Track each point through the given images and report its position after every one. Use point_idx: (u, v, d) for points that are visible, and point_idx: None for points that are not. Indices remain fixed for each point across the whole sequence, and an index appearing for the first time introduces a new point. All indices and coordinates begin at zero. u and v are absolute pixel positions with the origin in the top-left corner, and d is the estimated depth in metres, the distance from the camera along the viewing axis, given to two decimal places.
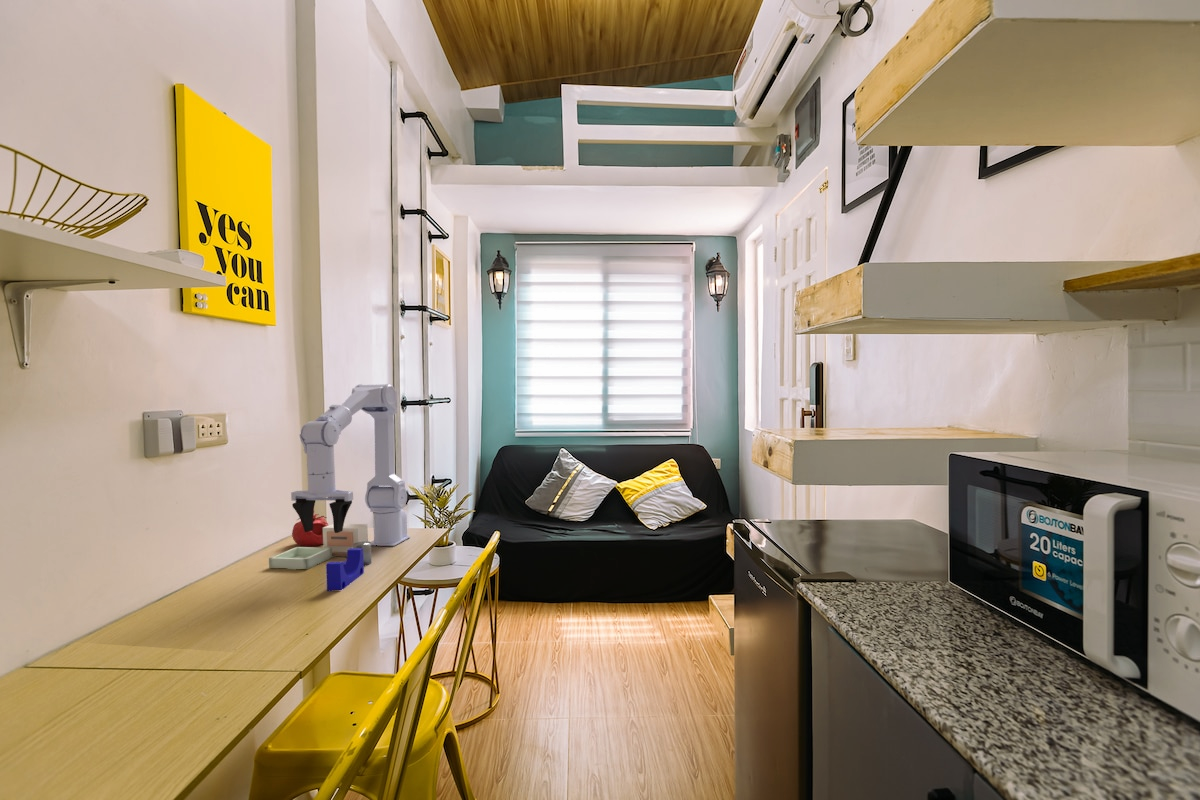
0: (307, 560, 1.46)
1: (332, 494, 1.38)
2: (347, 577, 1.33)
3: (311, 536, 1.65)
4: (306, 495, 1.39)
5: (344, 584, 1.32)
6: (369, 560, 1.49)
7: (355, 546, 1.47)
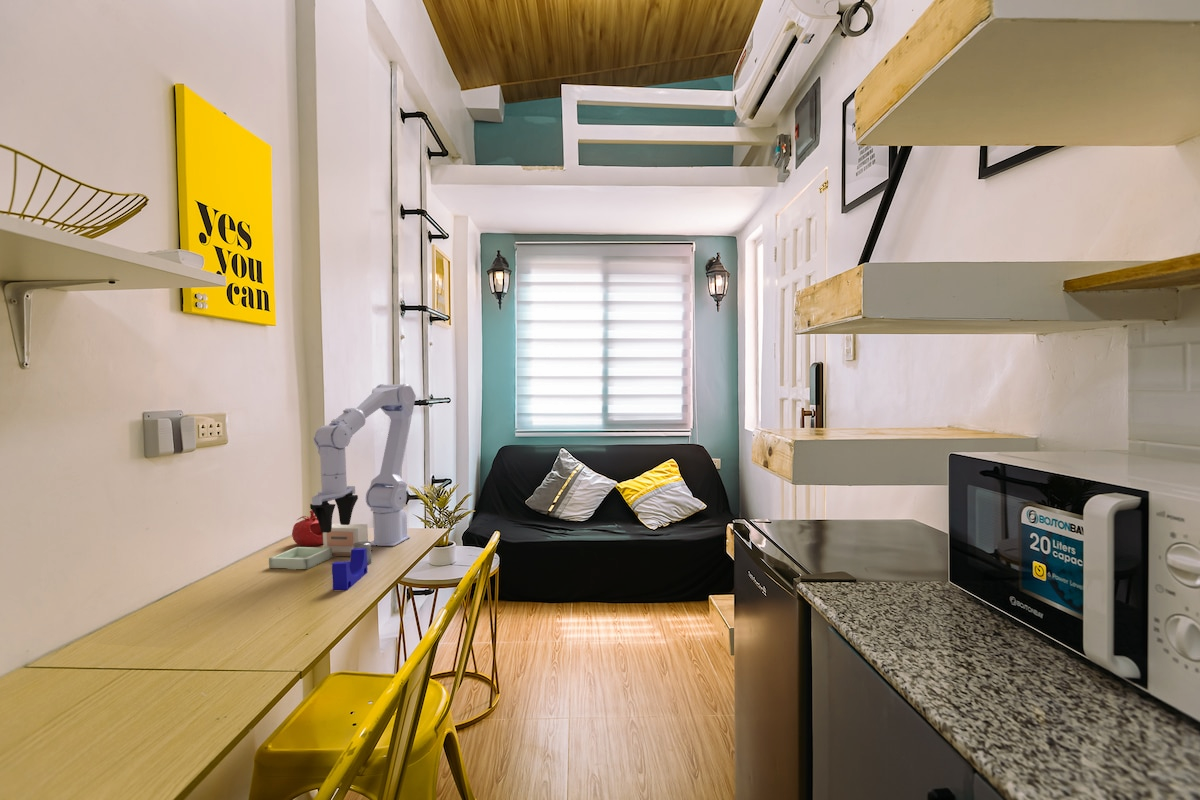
0: (307, 560, 1.46)
1: None
2: (352, 577, 1.33)
3: (311, 536, 1.65)
4: None
5: (350, 584, 1.32)
6: (369, 560, 1.49)
7: (355, 546, 1.47)
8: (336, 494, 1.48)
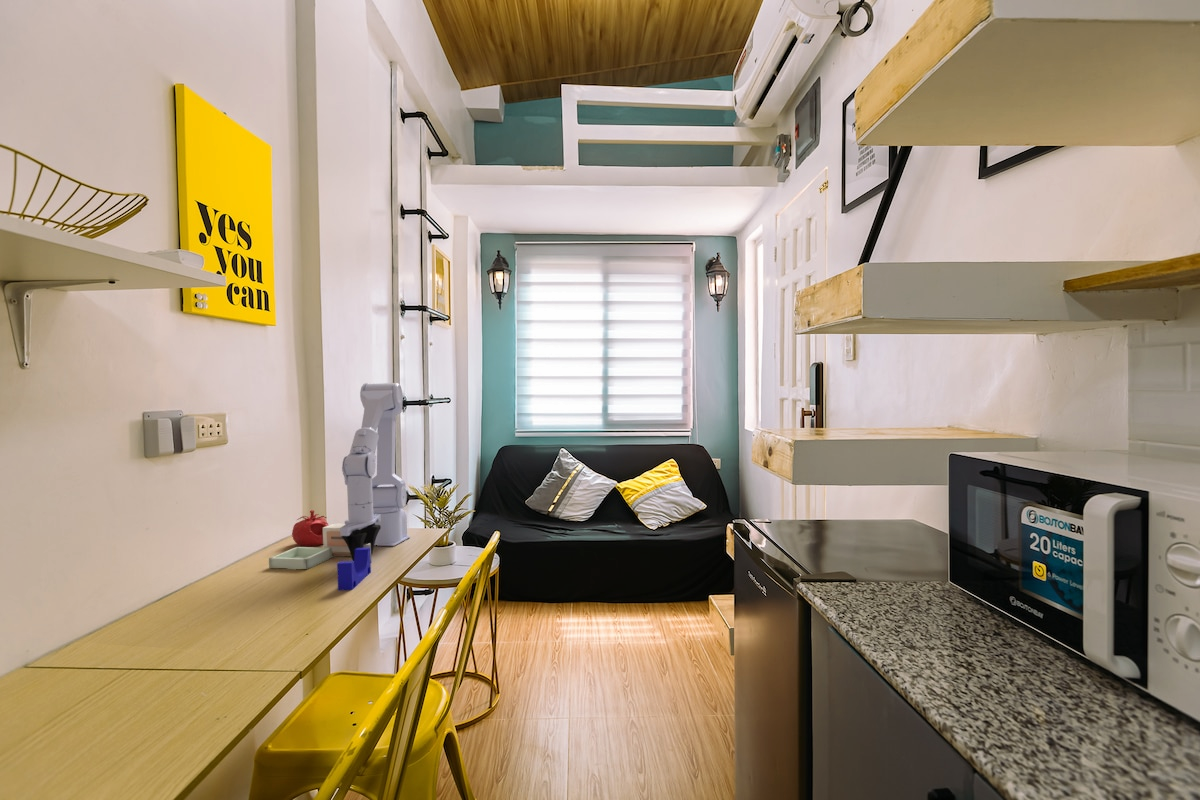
0: (307, 560, 1.46)
1: None
2: (357, 576, 1.34)
3: (311, 536, 1.65)
4: None
5: (355, 583, 1.32)
6: None
7: None
8: (364, 524, 1.46)
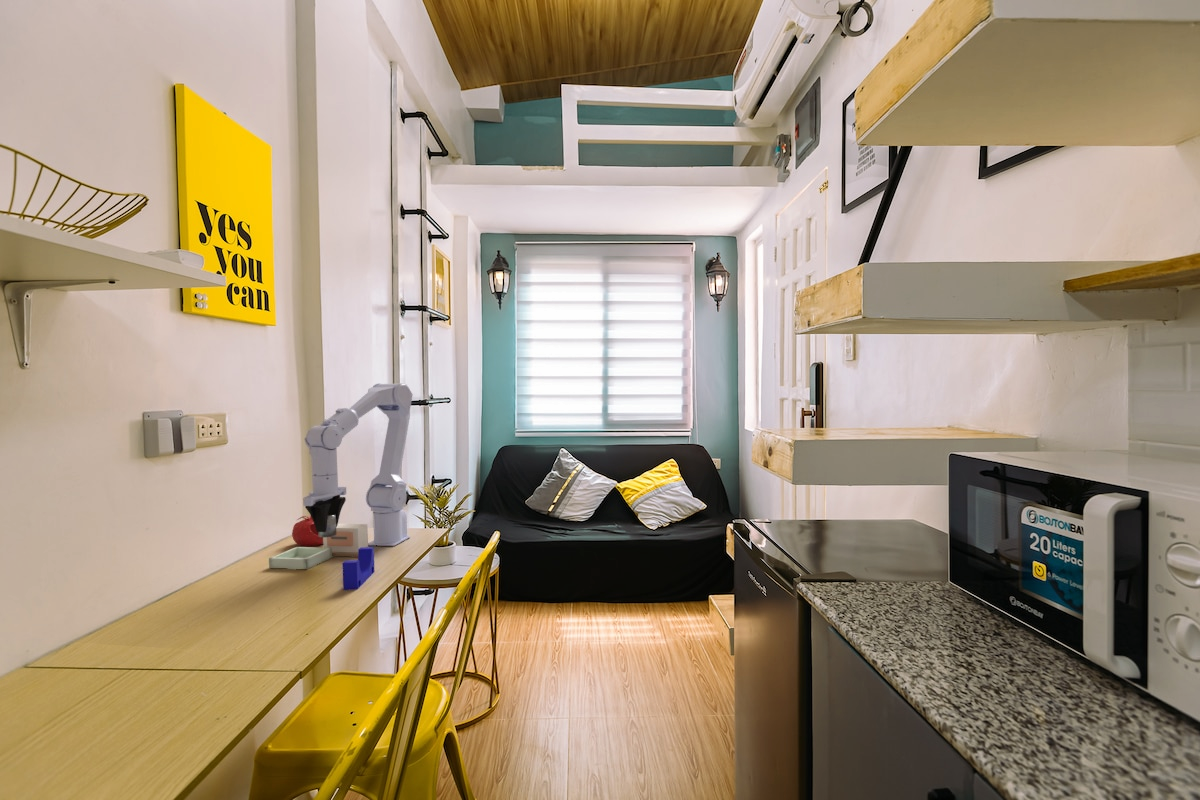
0: (307, 560, 1.46)
1: None
2: (362, 575, 1.34)
3: (311, 536, 1.65)
4: None
5: (360, 582, 1.33)
6: (334, 531, 1.49)
7: None
8: (327, 495, 1.47)
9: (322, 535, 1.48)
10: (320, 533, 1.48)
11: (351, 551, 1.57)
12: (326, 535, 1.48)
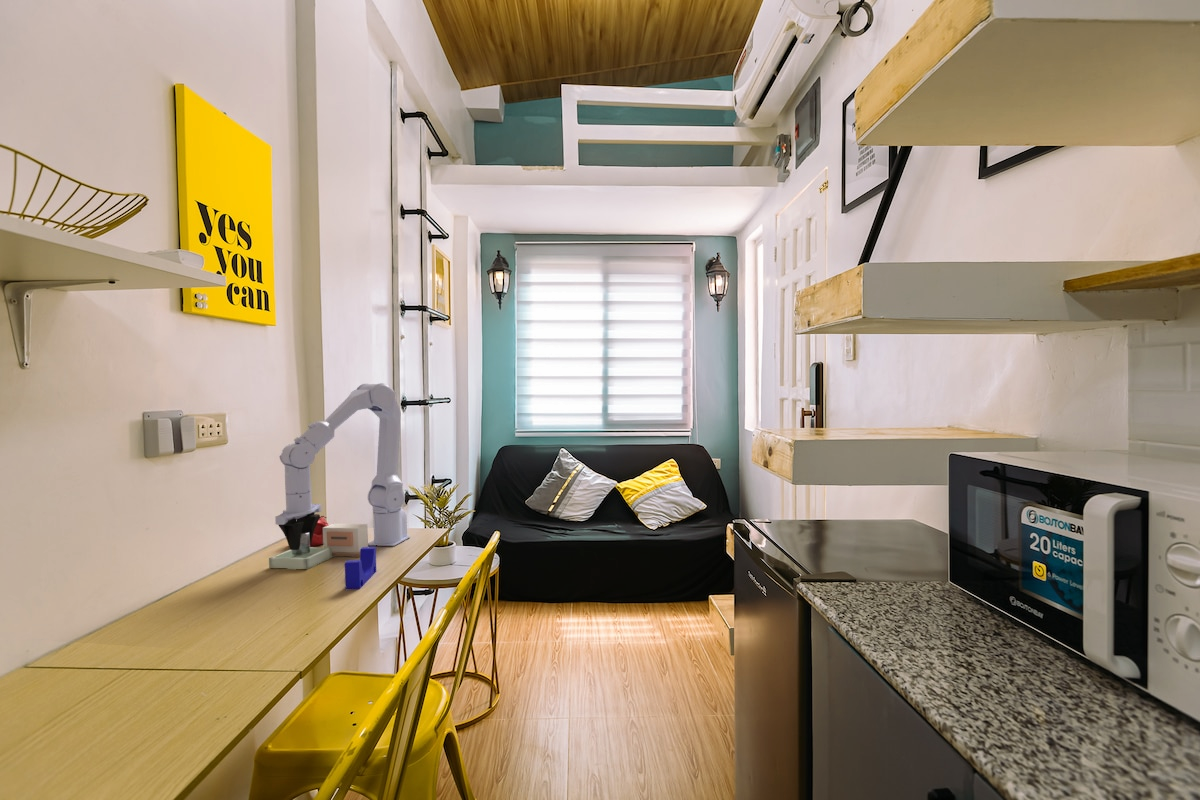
0: (307, 560, 1.46)
1: None
2: (364, 575, 1.34)
3: None
4: None
5: (362, 582, 1.33)
6: (307, 549, 1.50)
7: None
8: (300, 513, 1.48)
9: (295, 553, 1.49)
10: (293, 551, 1.49)
11: (351, 551, 1.57)
12: (299, 553, 1.49)
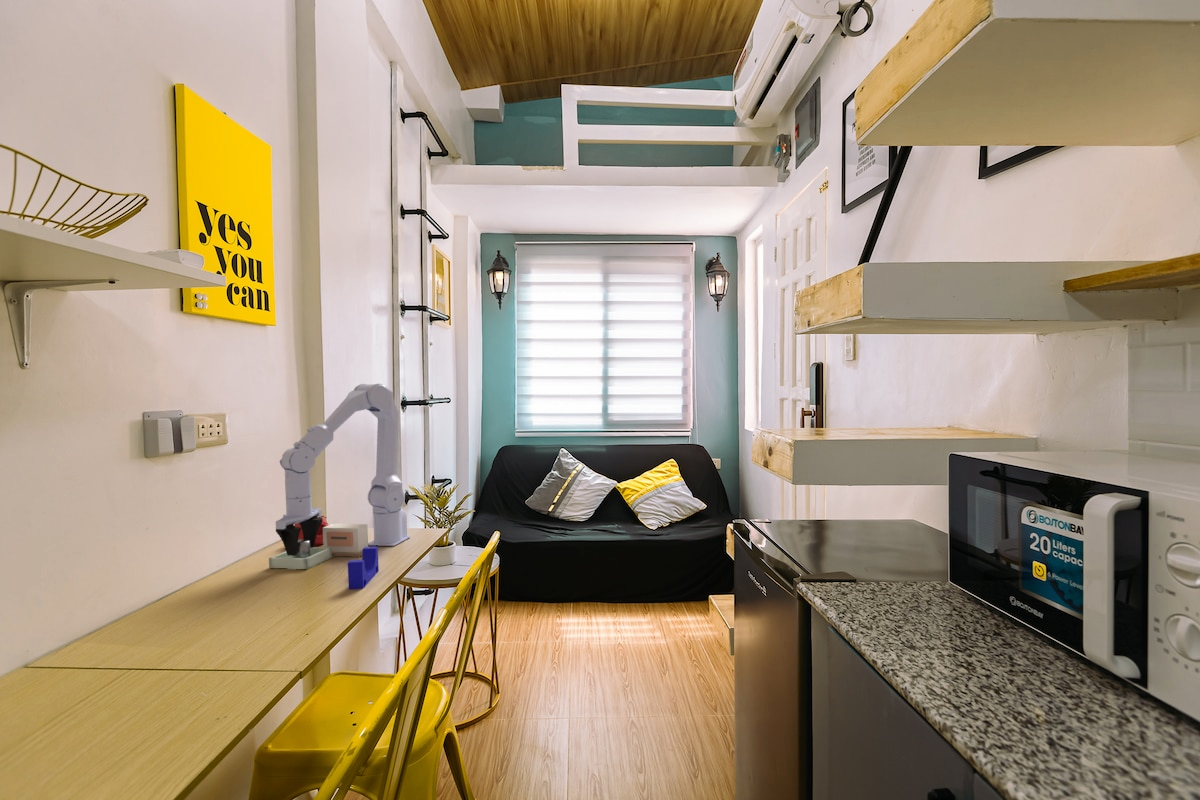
0: (307, 560, 1.46)
1: None
2: (367, 575, 1.34)
3: None
4: None
5: (365, 582, 1.33)
6: None
7: None
8: (301, 517, 1.48)
9: None
10: None
11: (351, 551, 1.57)
12: None
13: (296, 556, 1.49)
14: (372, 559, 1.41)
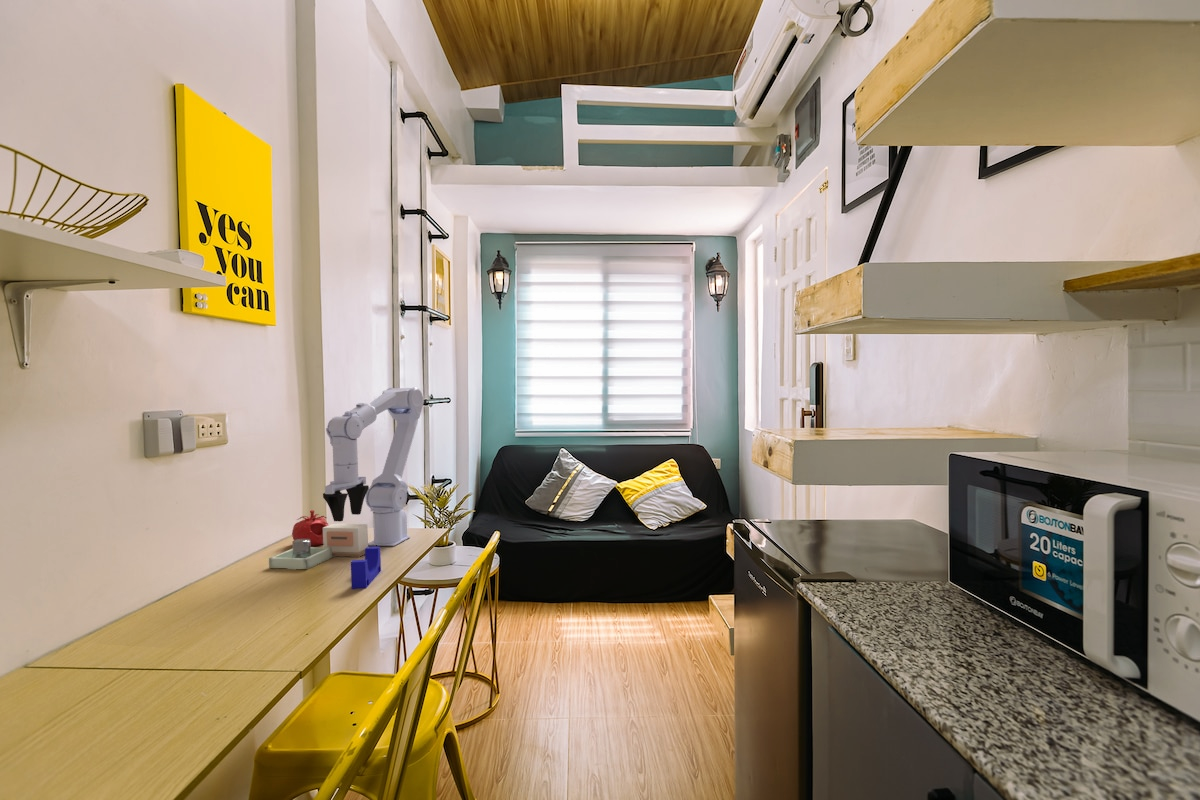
0: (307, 560, 1.46)
1: None
2: (370, 575, 1.34)
3: (311, 536, 1.65)
4: None
5: (367, 582, 1.33)
6: None
7: (294, 543, 1.49)
8: (348, 484, 1.51)
9: None
10: None
11: (351, 551, 1.57)
12: None
13: (296, 556, 1.49)
14: (374, 559, 1.41)
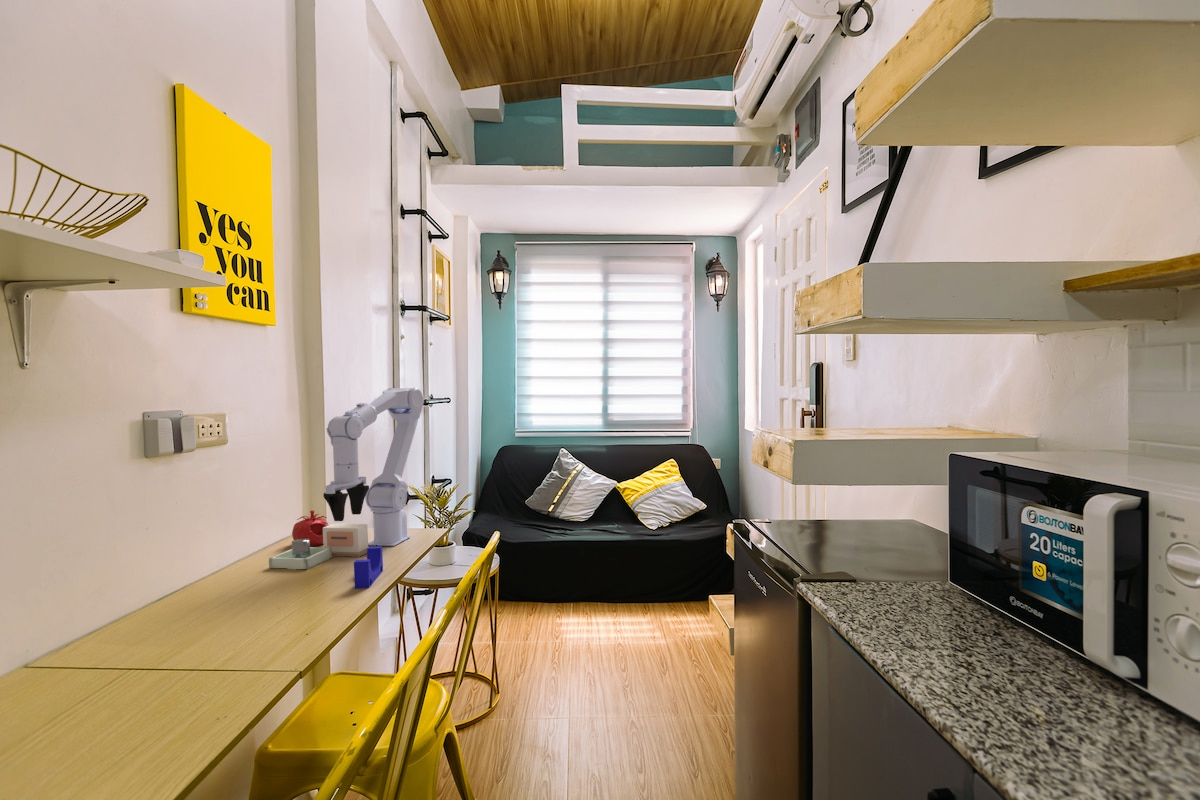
0: (307, 560, 1.46)
1: None
2: (373, 574, 1.35)
3: (311, 536, 1.65)
4: None
5: (370, 581, 1.33)
6: None
7: (293, 543, 1.49)
8: (349, 483, 1.51)
9: None
10: None
11: (351, 551, 1.57)
12: None
13: (295, 556, 1.49)
14: (377, 559, 1.41)
